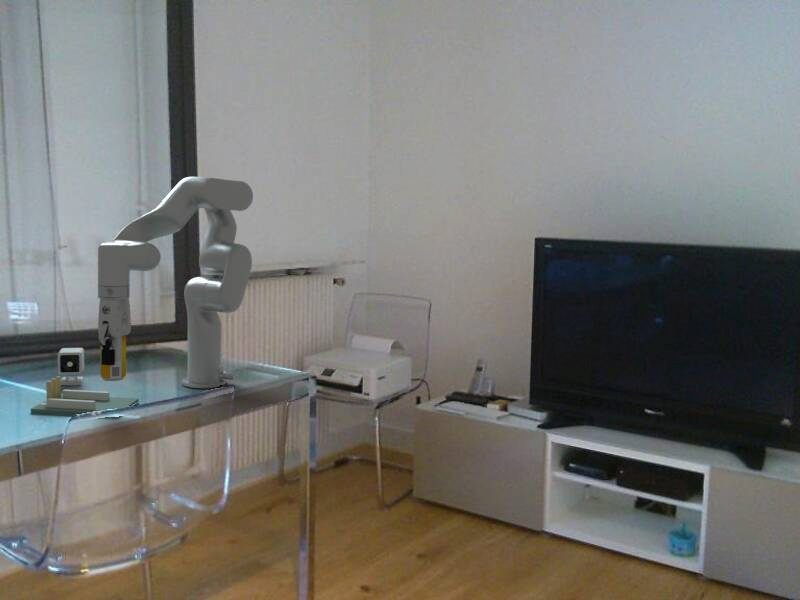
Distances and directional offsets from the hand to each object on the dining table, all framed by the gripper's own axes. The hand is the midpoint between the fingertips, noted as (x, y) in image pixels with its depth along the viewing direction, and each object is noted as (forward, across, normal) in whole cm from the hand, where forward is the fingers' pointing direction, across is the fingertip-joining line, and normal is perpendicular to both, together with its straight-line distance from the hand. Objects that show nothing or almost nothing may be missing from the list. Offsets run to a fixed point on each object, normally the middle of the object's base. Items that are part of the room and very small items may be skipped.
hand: (113, 361), depth 200 cm
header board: (+13, 0, +7) cm, 15 cm away
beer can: (+5, 0, 0) cm, 5 cm away
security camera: (+13, +22, +21) cm, 34 cm away
